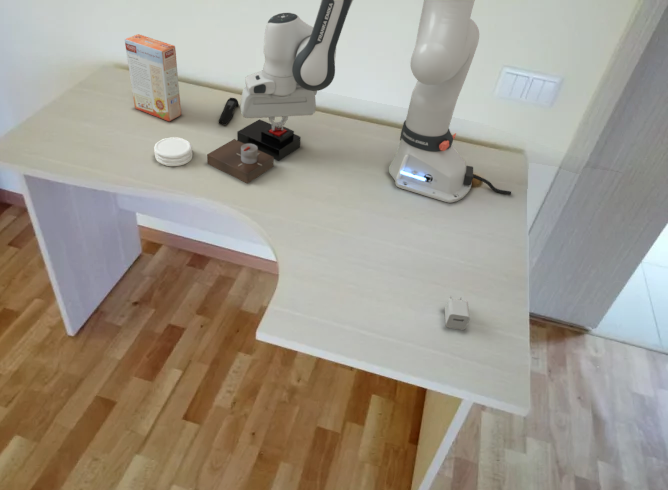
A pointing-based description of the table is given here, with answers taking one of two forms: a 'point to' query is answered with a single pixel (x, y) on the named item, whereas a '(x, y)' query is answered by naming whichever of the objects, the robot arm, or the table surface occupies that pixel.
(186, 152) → the white round disc stack
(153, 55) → the cracker box
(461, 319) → the usb wall charger
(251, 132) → the red push button box
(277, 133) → the button
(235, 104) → the electric trimmer
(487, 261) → the table surface
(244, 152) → the dial
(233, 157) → the dial panel
